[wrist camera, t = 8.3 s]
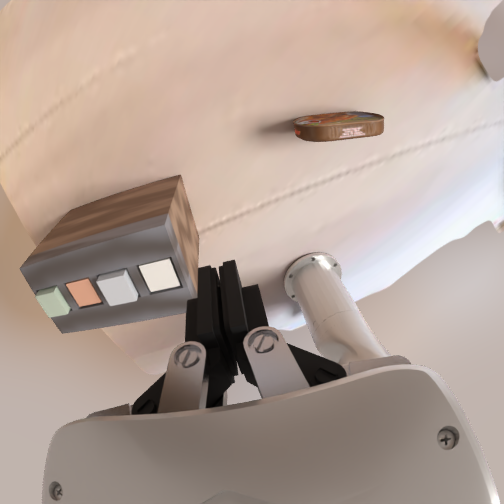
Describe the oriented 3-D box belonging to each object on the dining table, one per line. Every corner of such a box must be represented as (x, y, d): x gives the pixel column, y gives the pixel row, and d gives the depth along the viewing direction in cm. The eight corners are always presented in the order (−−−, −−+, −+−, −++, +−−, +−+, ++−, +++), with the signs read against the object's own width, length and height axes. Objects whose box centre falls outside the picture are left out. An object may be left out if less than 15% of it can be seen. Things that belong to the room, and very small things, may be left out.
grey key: (140, 288, 33) (136, 300, 31) (114, 293, 33) (110, 306, 31) (128, 263, 31) (123, 275, 29) (101, 270, 31) (96, 281, 29)
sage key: (73, 302, 33) (67, 314, 31) (54, 306, 33) (49, 317, 31) (59, 280, 31) (53, 292, 29) (41, 285, 31) (35, 296, 29)
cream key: (181, 273, 34) (180, 285, 32) (153, 280, 34) (150, 292, 32) (171, 247, 32) (169, 258, 30) (142, 255, 32) (138, 266, 30)
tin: (367, 110, 42) (394, 116, 35) (368, 127, 44) (395, 135, 36) (286, 118, 42) (302, 123, 34) (289, 136, 43) (305, 145, 36)
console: (199, 237, 50) (197, 310, 34) (95, 263, 50) (62, 333, 34) (180, 174, 44) (164, 224, 28) (70, 210, 43) (19, 268, 27)
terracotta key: (106, 290, 34) (101, 302, 32) (84, 295, 34) (79, 306, 32) (93, 267, 32) (88, 278, 30) (71, 273, 32) (65, 284, 30)
